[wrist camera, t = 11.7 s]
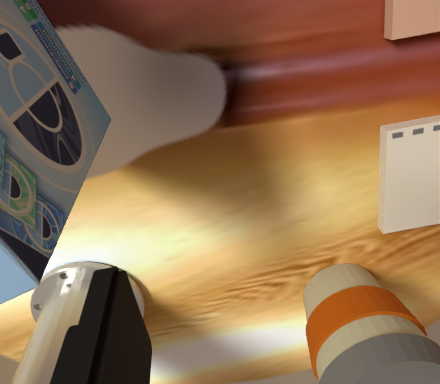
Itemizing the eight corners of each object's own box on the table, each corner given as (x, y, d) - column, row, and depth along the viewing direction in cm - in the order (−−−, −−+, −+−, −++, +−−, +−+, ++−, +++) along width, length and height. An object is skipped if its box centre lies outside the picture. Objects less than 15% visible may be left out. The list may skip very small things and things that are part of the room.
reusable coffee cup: (294, 338, 53) (332, 458, 40) (281, 264, 47) (320, 377, 34) (389, 317, 53) (459, 431, 39) (388, 240, 47) (470, 345, 33)
